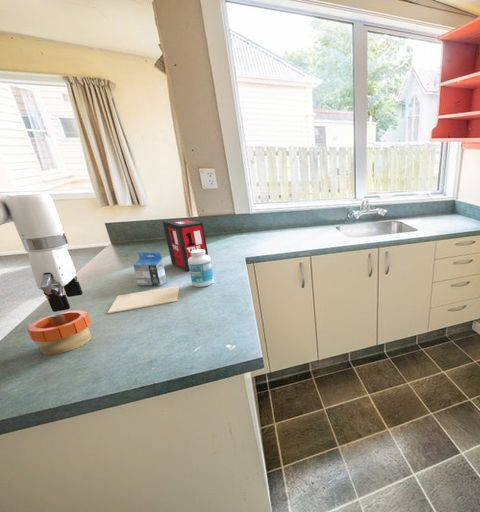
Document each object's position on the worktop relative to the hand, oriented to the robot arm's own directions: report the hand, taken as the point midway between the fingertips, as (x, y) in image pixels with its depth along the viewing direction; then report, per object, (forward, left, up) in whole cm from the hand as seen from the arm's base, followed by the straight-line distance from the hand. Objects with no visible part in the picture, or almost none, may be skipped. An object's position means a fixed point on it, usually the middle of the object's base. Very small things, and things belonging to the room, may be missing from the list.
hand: (68, 302), depth 81 cm
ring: (0, -7, -5) cm, 8 cm away
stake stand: (0, -7, -9) cm, 11 cm away
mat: (+14, +15, -9) cm, 22 cm away
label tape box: (+14, +30, -9) cm, 34 cm away
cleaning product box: (+26, +48, -9) cm, 55 cm away
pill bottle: (+31, +21, -9) cm, 38 cm away
